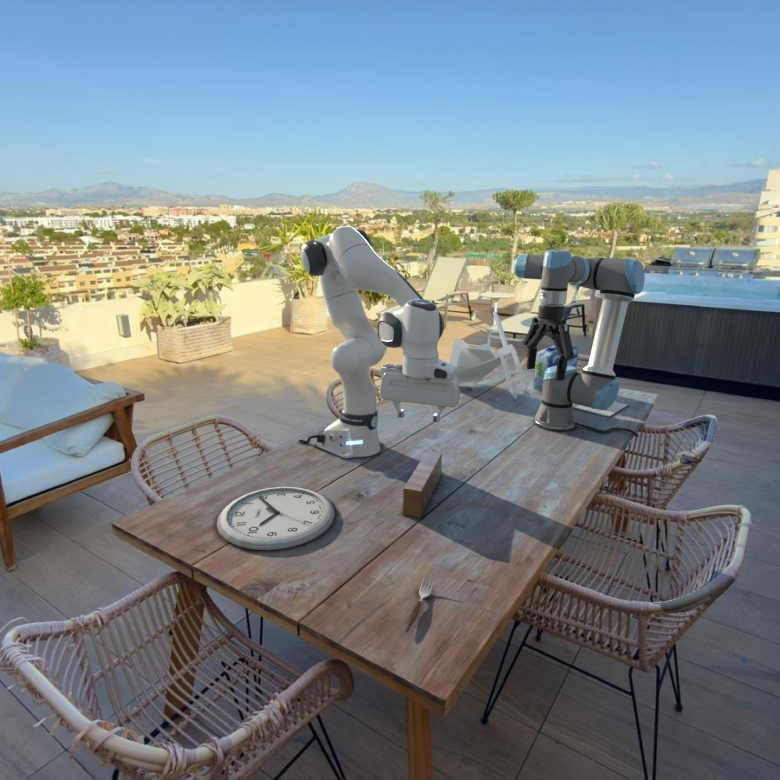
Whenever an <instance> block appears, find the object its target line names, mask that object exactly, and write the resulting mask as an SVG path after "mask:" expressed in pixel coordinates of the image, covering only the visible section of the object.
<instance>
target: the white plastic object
mask: <svg viewBox="0 0 780 780" xmlns="http://www.w3.org/2000/svg"><path fill="white" fill-rule="evenodd" d="M492 315H493V319H494V321H495V324H496V325H495V326H496V328H497V332H498V335H499V338H500V342H501V345H502V347H500V348H498V349H496V350H495V349H493V348H492V347H491V346H490V344H489V343H488V342H487V343H483V344H479V345H473V346H469V345H468V343H466V342H465V340H464V339H463V338H460V339H458V338H454V340H453V344H452V349H451V353H450V357H449V362H448V363H450V364H452V365H454V366H456V374H455V375H454V376H456V377H457V379H458V381H459V384H467V383H468V384H469V383H473V384H477V383H480V382H482V381H484V378H485V377H486V376H487V375H489V374H490V373H492V372H494V371H495V370H496V369H497V368H499V367H500V366H502V370H503V373H504V376H505V380H506V383H507V386H508V390H509V393H510V394H511V395H512V397H513V398H514V399H515V400H517V392H516V391H517V390H516V388H515V385H514V381H513V378H512V375H511V371H510V369H509V365H508V361H510V360H513V363H514V366H515V369H516V372H517V376H518V380H519V382H520V385H521V389H522V391H523V393H524V395H525V396H526V397H528V396H531V395H530V390H529V388H528V387H529V386H528V384H527V381H526V378H525V375H524V371H523V369H522V368H523V367H522V366H521V362H520V359H519V355H518V352H517V349H516V347H515V346H514V345H513V343H511V344H508V341H507V337H506V334H505V331H504V328H503V325H502V321H501V318H500V315H499V314H498V312H497V311H496V310H495V311H492Z"/></svg>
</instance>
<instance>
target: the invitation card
mask: <svg viewBox="0 0 780 780" xmlns="http://www.w3.org/2000/svg"><path fill="white" fill-rule="evenodd" d="M628 406H629V404H627V403H623V402H618V401H614V402H613V404H612V405H611V406H610V407H609V408H608V409H606V410H599V409H592V408H590V407H586V406H582V405H578V404H577V405H575V406H574V407H573V409H575V410H581V411H584V412H587V413H593V414H596V415H600V416H604V417H608V418H609V417H611V416H613V415H614V414H616V413H617V412H619V411H621V410H623V409H624V408H626V407H628Z"/></svg>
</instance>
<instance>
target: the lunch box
mask: <svg viewBox="0 0 780 780" xmlns="http://www.w3.org/2000/svg"><path fill="white" fill-rule="evenodd" d="M572 348H573V353H574V358H570V359H568V363H567V366H573V367H576V368H577V366H578V356H579V354H578V353H579V352H578V347H577V346H572ZM563 355H564V354H563ZM558 358H560V357H559V354H558V351H557V349H556V346H555V345H553V346H549V347H546V348H544V349H541V350H539V351H538V353H537V354H536V363H535V369H533V370H534V371H533V372H534V373H533V389H534V390H535V391H539V392H542V391H543V381H544V380H543V379H544V375H545V371H546V369H548V368H550V367H554V366H557V361H558Z"/></svg>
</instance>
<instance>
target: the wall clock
mask: <svg viewBox="0 0 780 780" xmlns="http://www.w3.org/2000/svg"><path fill="white" fill-rule="evenodd" d="M335 516H336V513H335V509H334V505H333V504H332V503H331V502H330V500H329V499H328V498H327V497H325V496H323V495H322V494H321V493H319V492H316V491H313V490H311V489H307V488H302V487H296V486H279V487H278V486H277V487H267V488H263V489H258V490H255V491H251V492H249V493H246V494H243V495H242V496H240V497H238V498H235V499H234V500H232V501H231V502H230V503H228V505H226V506H225V507H223V509H222V510H221V512H220V514H219V515H218V517H217V521H216V529H217V531H218V533H219V535H220V536H221V537H222V538H223V539H224V540H225V541H226V542H227V543H230V544H233V545H235V546H236V547H239V548H244V549H249V550H257V551H274V550H285V549H289V548H292V547H297V546H301V545H304V544H306V543H308V542H310V541H312V540H315V539H317V538H318V537H319V536H321V535H323V534H324V533H325V532H326V531H328V529H329V528H330V527H331V525H332V524H333V522H334V518H335Z"/></svg>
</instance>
